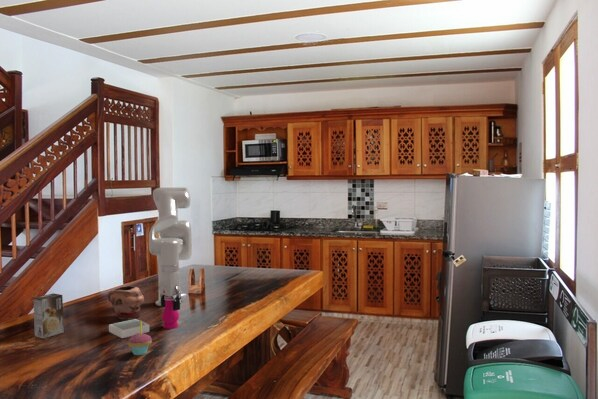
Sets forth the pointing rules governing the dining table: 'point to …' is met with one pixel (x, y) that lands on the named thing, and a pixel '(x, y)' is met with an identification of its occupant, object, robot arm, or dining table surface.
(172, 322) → the pepper mill
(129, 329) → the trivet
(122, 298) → the decorative planter
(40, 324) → the coffee box
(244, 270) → the dining table surface
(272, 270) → the dining table surface
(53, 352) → the dining table surface
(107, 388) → the dining table surface
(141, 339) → the cupcake
